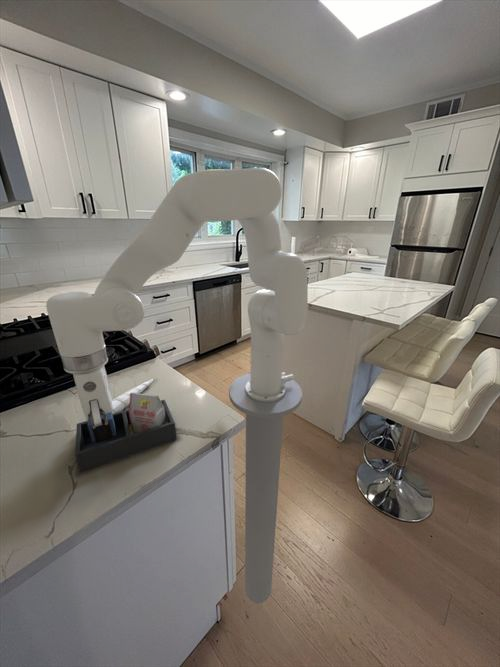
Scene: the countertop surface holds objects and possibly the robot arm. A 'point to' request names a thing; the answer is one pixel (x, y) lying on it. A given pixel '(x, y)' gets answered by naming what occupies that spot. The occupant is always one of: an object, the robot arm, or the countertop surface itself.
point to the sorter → (120, 440)
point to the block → (110, 419)
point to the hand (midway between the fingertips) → (103, 431)
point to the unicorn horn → (127, 398)
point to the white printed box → (145, 412)
